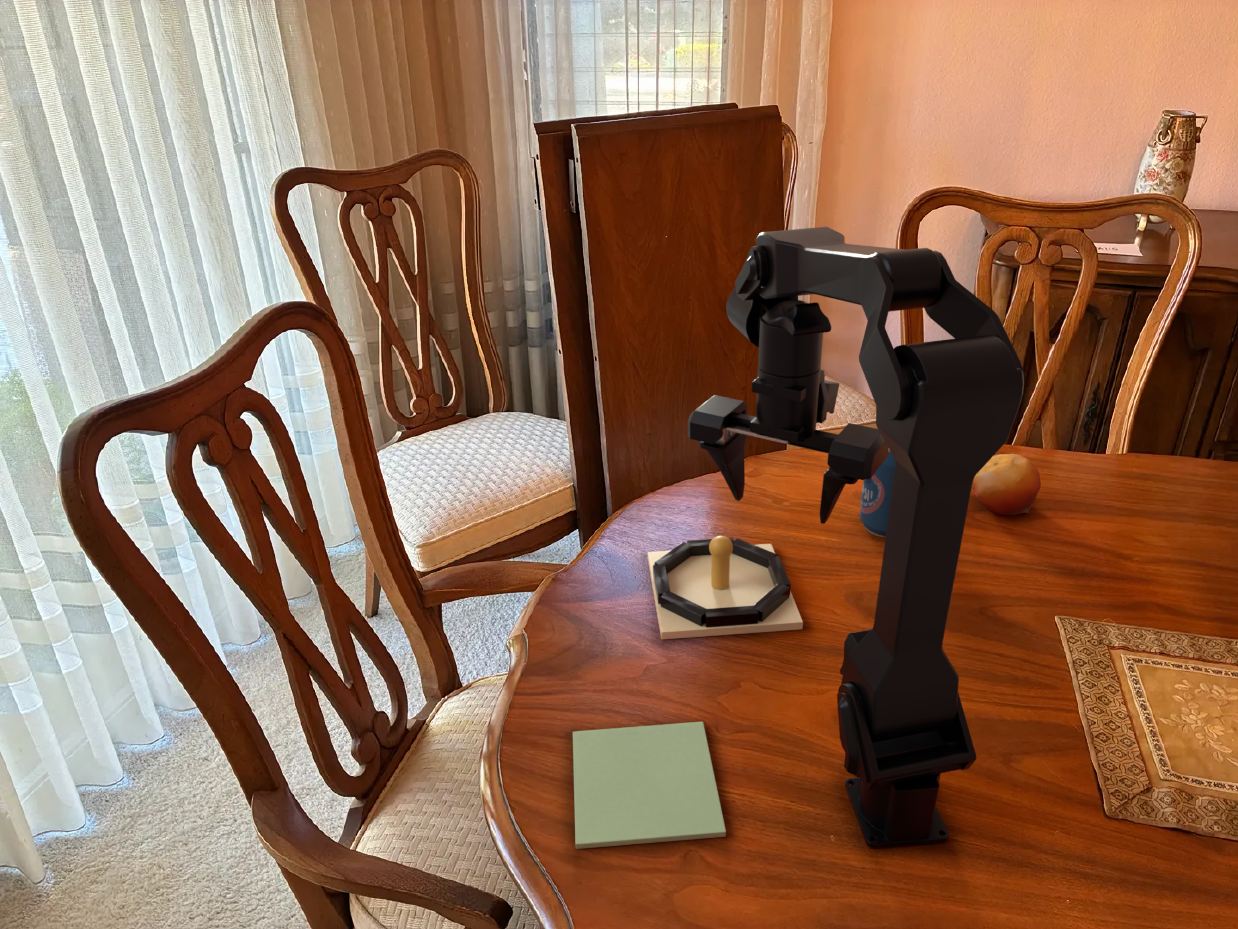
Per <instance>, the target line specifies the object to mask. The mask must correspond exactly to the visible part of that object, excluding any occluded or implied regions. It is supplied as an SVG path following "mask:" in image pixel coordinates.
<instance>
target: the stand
mask: <svg viewBox="0 0 1238 929" xmlns="http://www.w3.org/2000/svg"><path fill="white" fill-rule="evenodd" d="M729 538H730V537H727V536H725V535H717V536H714V537H712V538H711V539H712V540H711V542H710V544H709V550H710V553H711V555H702V556H691V557H690V558H688V559H687V560H685V561H684V562H683V563H681V564H680V565H679V566H677V567H676V568H675V569H673V570H672V571H671V572H669V573H668V574H667V577H668V582H669V587H670V592H672V593H674V594H676V595H679V596H681V597H683V598H685V599H687V600H689V601H691V602H693V603H695V604H698V605H700V606H702V607H704V608H706V609H712V608H726V607H740V606H753V605H754V604H755V603H757V602H758V601H759V600H760V599H761V598H762V597H763V596H765V595H766V594H767V593H768V592H769V591H770V590H772V589H773V588H774V584H773V581H772V579H771V576H770V573H769V571H768V568H766V567H763V566H761V565H759V564H756V563H754V562H751V561H749V560H747V559H744V558H742V557H739V556H737V555H735V554H732V551H733V544H732V542H731V540H730V539H729ZM754 545H755V546H758V547H760V548H763V549H765V550H768V551H770V552H773V553H775V554H776V552H775V550H774V546H773V545H772V543H761V544H754ZM670 551H671V550H658V551H647V563H648V570H649V575H650V581H651V588H652V593H653V600H654V604H655V611H656V617H657V622H658V629H659V634H660V640H674V639H688V638H702V637H703V638H704V637H716V636H731V635H744V634H756V633H757V634H759V633H771V632H781V631H782V632H783V631H798V630H803V627H804V620H803V619H802V616H801V613H800V611H799V609H798V606H797V604H796V601H795V599H794V596H793V593H792V592H791V590H790V595H789V598H788V599H787V600H786V601H785V602H784V603H783V604H782V605H780V606H779V607H778V608H777V609H776V610H775V611H774V612H773V613H772V614H770V615H769V616H768V617H767V618H766V619H765V620H764V621H763V622H760V621H758V624H749V625H735V626H721V627H707V628H706V625H705V624H704V625H703V626H699V625H697V624H695V623H693V622H691V621H689V620H687V619H685V618H683V617H681V616H679V615H677V614H675V613H673V612H671V611H669V610H667V609H665V608H663V607H661V604H658V600H657V594H656V589H655V583H654V577H653V565H654V563H655V562H656V561H657V560H659V559H660V558H661V557H663V556H664V555H666V554H667V553H668V552H670Z"/></svg>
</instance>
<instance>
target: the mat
mask: <svg viewBox="0 0 1238 929" xmlns="http://www.w3.org/2000/svg"><path fill="white" fill-rule="evenodd" d="M572 762H573V763H572V764H573V766H572V767H573V798H574V799H573V800H574V801H573V802H574V803H573V804H574V805H573V806H574V837H575V838H574V840H575V849H576V850H580V849H581V850H582V849H592V848H606V847H617V846H630V845H642V844H653V843H654V844H655V843H664V842H678V841H688V840H689V841H691V840H702V839H711V838H712V839H714V838H724V837H725V838H726V837H727V830H726V825H725V820H724V815H723V811H722V806H721V800H720V796H719V791H718V787H717V781H716V777H715V770H714V767H713V762H712V758H711V752H710V748H709V744H708V739H707V733H706V727H705V723H704V721H693V722H692V721H691V722H679V723H667V724H653V725H639V726H628V727H627V726H626V727H613V728H601V729H588V730H587V729H586V730H577V731H572Z"/></svg>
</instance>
